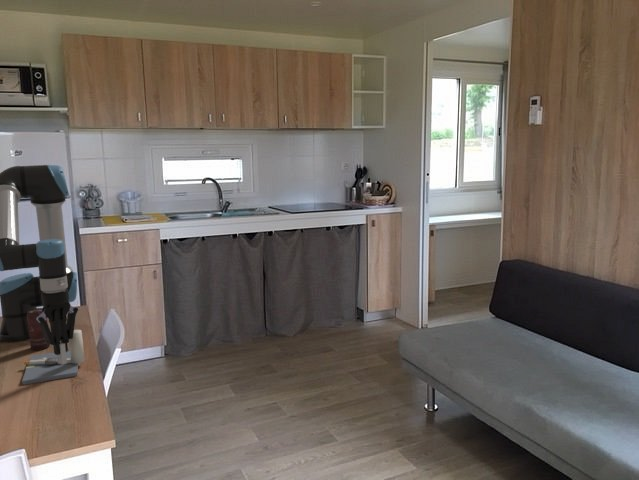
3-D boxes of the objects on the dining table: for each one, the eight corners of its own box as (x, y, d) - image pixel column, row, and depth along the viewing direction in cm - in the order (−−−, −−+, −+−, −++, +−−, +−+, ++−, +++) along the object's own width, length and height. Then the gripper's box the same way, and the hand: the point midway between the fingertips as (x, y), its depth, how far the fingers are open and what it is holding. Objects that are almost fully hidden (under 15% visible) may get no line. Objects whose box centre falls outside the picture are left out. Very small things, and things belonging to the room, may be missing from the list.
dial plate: (30, 359, 179) (29, 355, 179) (79, 352, 184) (79, 348, 184) (21, 385, 159) (21, 380, 158) (77, 375, 164) (76, 372, 164)
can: (42, 351, 186) (38, 312, 184) (27, 350, 187) (22, 312, 185) (54, 345, 192) (50, 307, 190) (39, 344, 193) (35, 307, 191)
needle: (21, 366, 169) (17, 336, 167) (28, 360, 173) (24, 331, 171) (81, 363, 170) (78, 333, 168) (86, 358, 174) (83, 329, 172)
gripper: (40, 296, 155) (49, 372, 159) (81, 286, 166) (88, 358, 169) (26, 293, 159) (35, 367, 163) (67, 284, 170) (74, 354, 173)
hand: (62, 363), depth 166 cm, fingers closed
